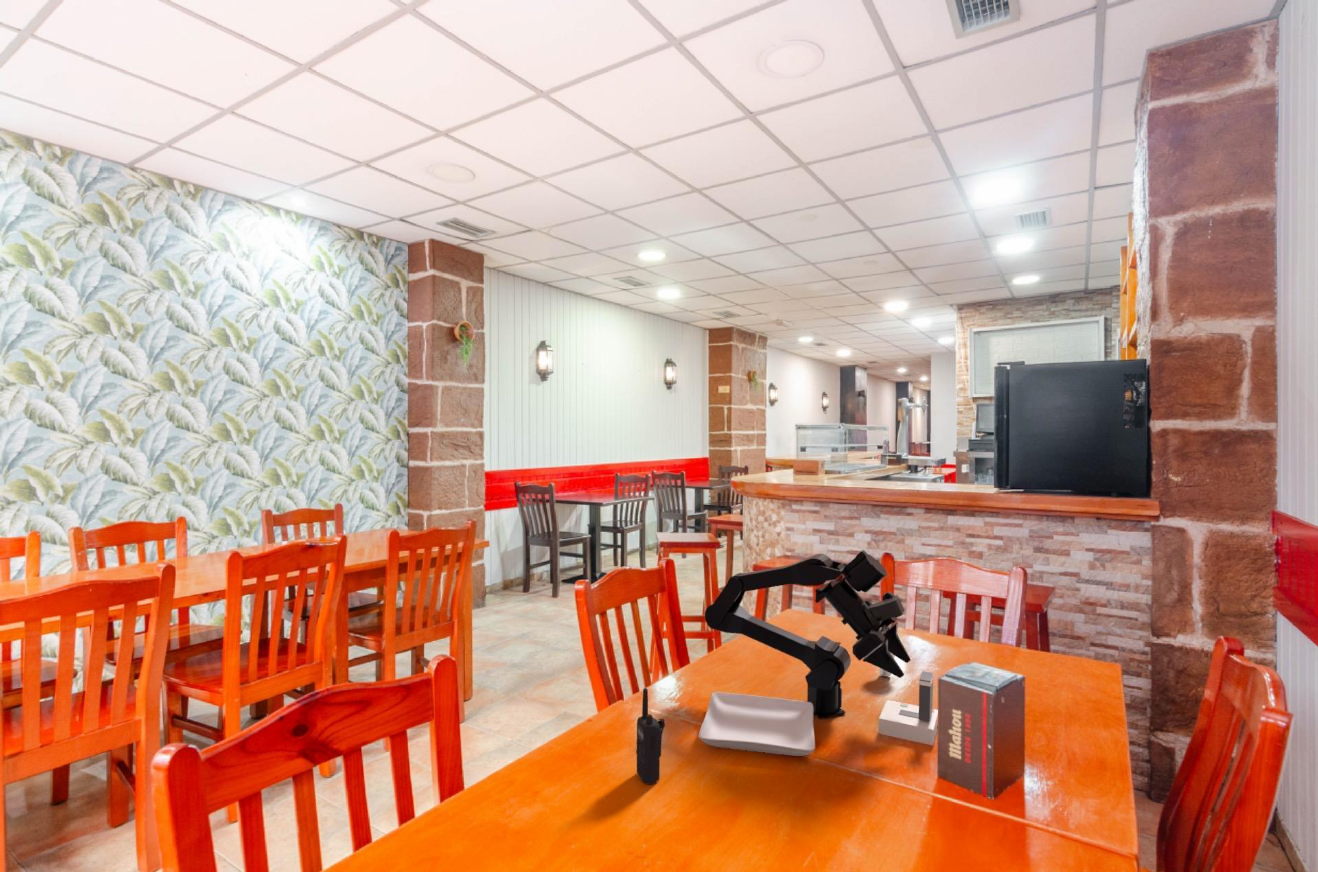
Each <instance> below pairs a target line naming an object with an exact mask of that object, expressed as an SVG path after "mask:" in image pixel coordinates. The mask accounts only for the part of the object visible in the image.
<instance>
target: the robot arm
mask: <svg viewBox="0 0 1318 872" xmlns="http://www.w3.org/2000/svg"><path fill="white" fill-rule="evenodd" d="M841 575H843V576H844V577H842V578H841V580H839V581H836V580H837V579H838V578H839V577H840V576H841ZM887 576H888V572H887V570H886V568H885V567H884V566H883V564H882V563H881V562H880V560H878V559H876V558H875V557H874V556H872V555H871V554H868V553H867V552H866V550H865V549H862V550H861V551H859V552H858V553H857V554H856V556H855V557H854V558H853V559H851V560H850V562H848V563H845V562H841V561H838V560H837V561H836V560H832V558H831V557H830V556H828V555H827V554H824V553H817V554H814V555H811V556H808V557H806V558H804V559H801V560H799V561H796V562H794V563H791V564H787V565H782V566H777V567H771V568H765V569H759V570H755V571H750V572H749V571H748V572H738V573H736V574H734V575H733V576H731V577H729V579H728V580H727V582H726V584H725V586H724V587H723V589H722V590H721V592H720V593H719V595H718V596H717V597H716V599H715V600H714V602H713V603H712V604H709V605H708V607H706V608H705V611H704V620H705V622H706V625H707V626H708V628H710V629H712V630H714V631H718V632H721V633H727V634H736V635H737V634H739V635H743V636H746V637H748V638H750V639H752V640H754V641H757V642H759V643H760V644H763V645H765V646H768V647H770V648H771V649H773V650H777V651H779V652H781V653H783V654H785V655H788V656H790V657H792V658H794V659H797V660H799V661H800V662H802V664H804V665H805V666H806V668H808V669H809V670H810V671H808V673H806V675H805V677H804V678H805V682H806V684H807V689H806V690H807V694H806V697H807V701H806V702H810V703H812V704H813V707H814V713H813V716H816V717H817V718H819V719H820V720H821V719H827V718H833V717H837V716H841V715H845V714H846V711H845V710H844V709H843V708H842V707H843V706H842V705H843V703H842V702H843V700H842V697H843V694H842V693H843V689H842V687H841V684H842V683H841V681H840V680H841V679H843V677H844V675H845V674H846V672H847V671H848V669H849V668H850V666H851V661H852V660H851V655H850V654H849V651H848V650H847V648H846V647H844V646H842V645H841V642H840V641H839V642H838V641H834V640H832V639H829V638H828V637H827V636H824V635H822V636H821V637H819V639H818V640H817V641H816V640H815V641H814V640H809V639H807V638H804V637H802V636H800V635H798V634H795V633H793V632H791V631H788V630H786V629H783V628H782V627H779V626H776V625H774V624H771V623H769V622H767V621H765V620H763V619H760V618H758V617H755V616H753V615H751V614H750V613H749V612H748V611H747V610H746V609H745V608H744V607H743V605H741V604H742V601H743V600H744V597H745V594H746V592H749V591H750V592H751V591H755V590H756V591H757V590H763V589H767V588H774V587H779V586H780V587H781V586H786V585H795V586H796V585H797V586H802V587H803V586H806V587H808V586H809V587H817V586H821V585H823V584H824V583H826V582H827V581H829V582H828V583H827V584H826V585H825V586H824V587H817V588H816V589H815V590H814V591H815V599H814V603H816V604H819V602H821V601H822V600H823V599H825V600H826V601H827V602H828V603H829V605H831V607H833V609H834V610H835V611H836V612H837V614H839V617H841V618H842V620H841V621H840V622H841V623H842V624H843V625H844V626H846V625H848V627H850V629H851V630H852V631H853V632H854V633H855V634H856V636H855V639H856V641H855V643H854V644H853V645H852V650H851V651H852V655H853V656H855V658H856V659H857V660H858V661H863V662H864V663H866V662H867V663H868V664H871V665H873V666H874V667H876V668H879V669H880V668H881V669H883V670H885V671H887V672H889V673H891V675H894V676H895V677H897V678H900V679H901V678H903V677H904V675H905V673H904V672H903V669H902V668H901V667H900V665H899V664H898V662H897V661H896V659H895V657H897V658H898V659H899V660H901V661H903V662H904V663H906V664H908V663H909V662H911V657H910V656H909V653H908V652H907V650H906V647H905V646H904V645H903V642H902V641H901V639H900V636H899V635H898V627H899V622H898V621H897V620H898V618H899V617H901V616H903V614H904V612H905V608H904V606H903V604H902V602H903V600H902V598H900V597H899V595H895V594H894V593H893V592H892V591H888V592H884V593H883V595H882V599H881V600H878V602H874V603H872V602H871V600H870V599H867V598H866V599H863V597H861V596H860V595H859V593H860V592H863V593H867V592H869V591H870V590H871V589H872V588H873V587H876V585H878V584H879V583H880V582H881V581H882V580H883V579H885V578H886V577H887ZM858 592H859V593H858ZM896 621H897V622H896ZM890 653H892V654H893V655H895V657H894V658H893V656H892V655H891V654H890Z"/></svg>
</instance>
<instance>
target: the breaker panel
mask: <svg viewBox="0 0 1318 872" xmlns="http://www.w3.org/2000/svg"><path fill="white" fill-rule="evenodd" d="M938 710H939V709H936V708H933V709H932V715H931V718H930V721H925V720H920V719H919V705H916V704H910V703H905V702H900V701H893V700H890V699H888V700H886V702H885V704H884V706H883V708H882V710H881V713H880V715H879V718H878V732H877V733H878V734H880V735H884V736H888V737H892V738H896V739H901V740H902V739H903V740H905V741H906V740H907V741H911V742H914V743H915V742H916V743H920V744H925V745H928V746H929V745H930V746H934V744H935V740H936V737H937V732H938V729H937V720H938Z"/></svg>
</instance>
